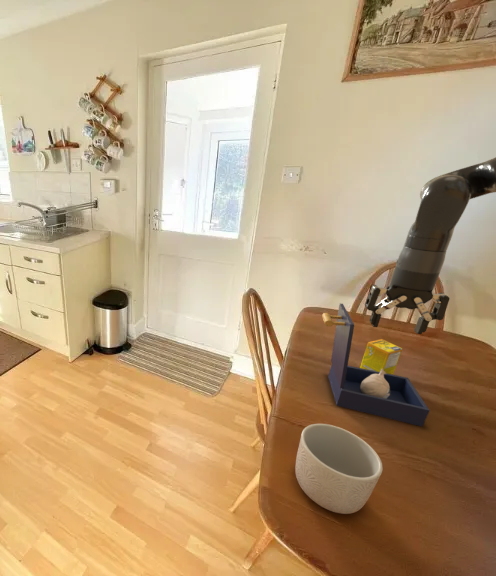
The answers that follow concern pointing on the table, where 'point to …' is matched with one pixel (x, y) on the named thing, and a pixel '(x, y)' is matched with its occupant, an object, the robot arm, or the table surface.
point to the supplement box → (381, 356)
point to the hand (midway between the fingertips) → (395, 329)
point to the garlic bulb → (376, 385)
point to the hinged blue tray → (397, 406)
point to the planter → (336, 468)
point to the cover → (340, 342)
